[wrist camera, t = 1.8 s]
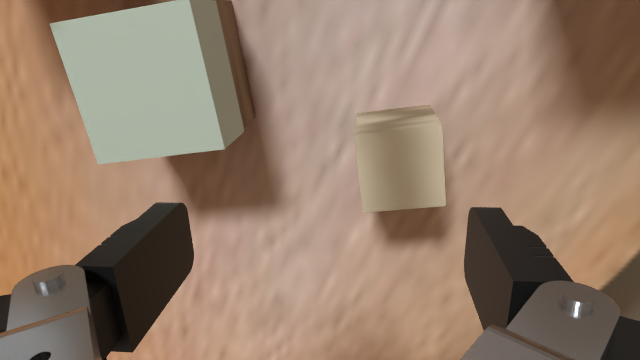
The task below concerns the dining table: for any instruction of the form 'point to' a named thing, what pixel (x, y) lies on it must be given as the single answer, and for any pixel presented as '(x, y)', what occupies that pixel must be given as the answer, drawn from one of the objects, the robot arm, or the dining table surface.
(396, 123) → the maple block
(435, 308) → the dining table surface
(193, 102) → the sage slab
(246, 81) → the walnut slab
